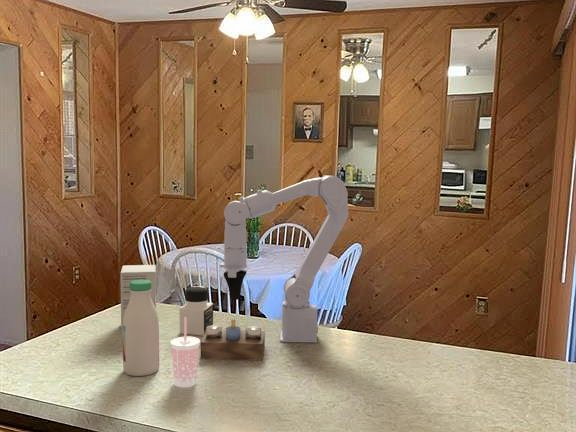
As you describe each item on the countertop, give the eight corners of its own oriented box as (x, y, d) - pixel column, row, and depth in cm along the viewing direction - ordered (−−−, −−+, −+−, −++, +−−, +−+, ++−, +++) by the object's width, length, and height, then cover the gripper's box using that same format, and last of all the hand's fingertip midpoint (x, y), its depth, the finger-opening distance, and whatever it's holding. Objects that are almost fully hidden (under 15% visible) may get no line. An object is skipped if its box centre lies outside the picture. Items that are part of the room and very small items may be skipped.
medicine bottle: (204, 335, 142) (204, 291, 140) (179, 333, 143) (178, 289, 142) (213, 327, 149) (213, 285, 147) (189, 325, 150) (189, 283, 149)
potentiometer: (241, 335, 130) (241, 318, 130) (239, 340, 127) (239, 322, 126) (227, 335, 130) (227, 317, 130) (225, 340, 127) (225, 322, 126)
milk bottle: (166, 367, 120) (166, 279, 118) (143, 379, 113) (142, 287, 111) (139, 361, 123) (138, 276, 121) (115, 373, 116) (114, 283, 114)
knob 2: (261, 349, 132) (261, 326, 131) (260, 354, 128) (260, 331, 127) (246, 348, 132) (246, 325, 131) (244, 354, 128) (244, 330, 127)
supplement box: (122, 323, 151) (122, 265, 149) (156, 322, 153) (156, 264, 151) (120, 334, 141) (119, 272, 140) (156, 332, 144) (156, 271, 142)
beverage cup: (206, 380, 113) (206, 316, 112) (187, 391, 108) (187, 323, 106) (183, 374, 116) (183, 311, 115) (164, 384, 111) (163, 319, 109)
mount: (264, 346, 134) (264, 331, 134) (262, 360, 125) (262, 343, 125) (206, 345, 134) (206, 330, 134) (200, 358, 125) (200, 342, 125)
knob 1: (222, 348, 132) (223, 325, 131) (220, 353, 128) (220, 330, 127) (207, 347, 132) (207, 325, 131) (204, 353, 128) (205, 329, 127)
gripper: (223, 242, 146) (223, 291, 147) (215, 252, 131) (215, 306, 133) (249, 243, 145) (249, 292, 147) (244, 252, 131) (243, 306, 132)
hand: (235, 298), depth 140 cm, fingers closed
